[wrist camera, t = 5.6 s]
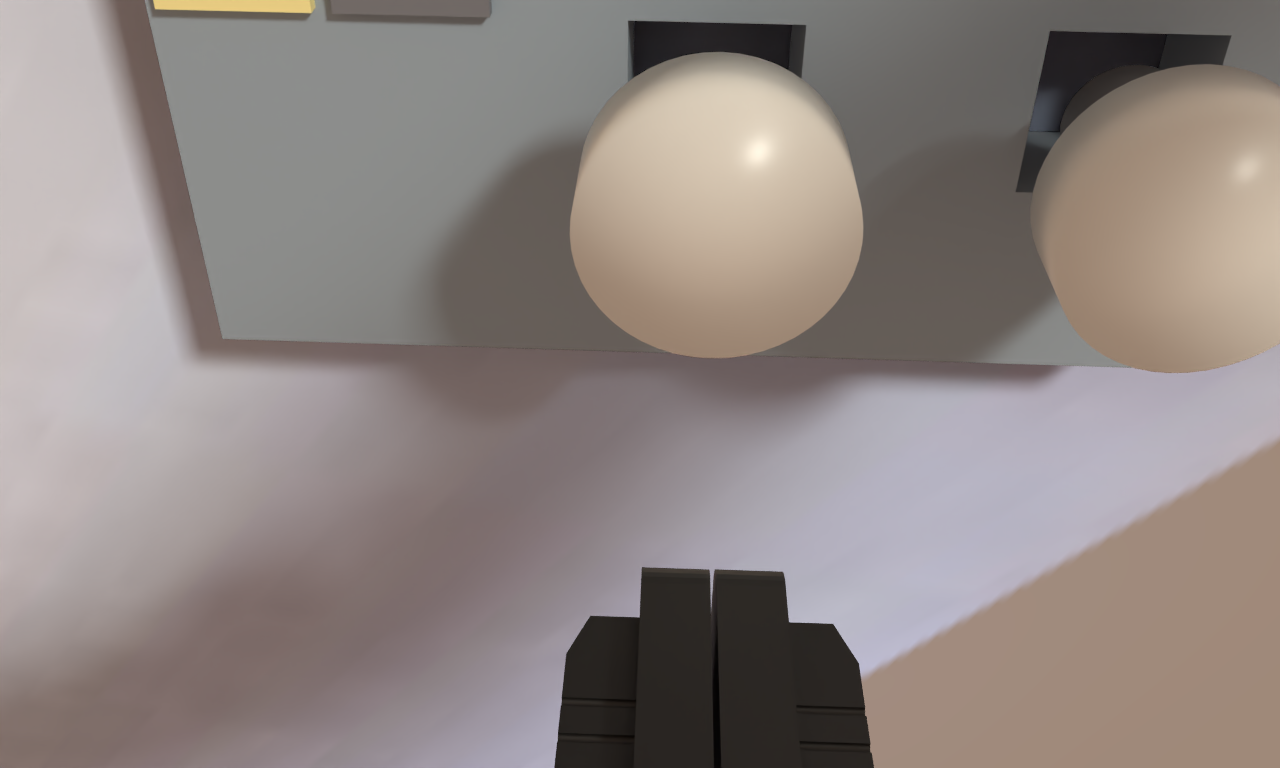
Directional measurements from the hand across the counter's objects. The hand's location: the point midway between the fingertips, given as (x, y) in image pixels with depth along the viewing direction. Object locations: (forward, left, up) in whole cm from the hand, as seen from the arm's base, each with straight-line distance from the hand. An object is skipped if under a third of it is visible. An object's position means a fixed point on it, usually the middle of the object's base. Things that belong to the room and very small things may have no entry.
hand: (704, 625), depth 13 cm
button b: (-8, 0, -14) cm, 16 cm away
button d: (0, 0, -14) cm, 14 cm away
